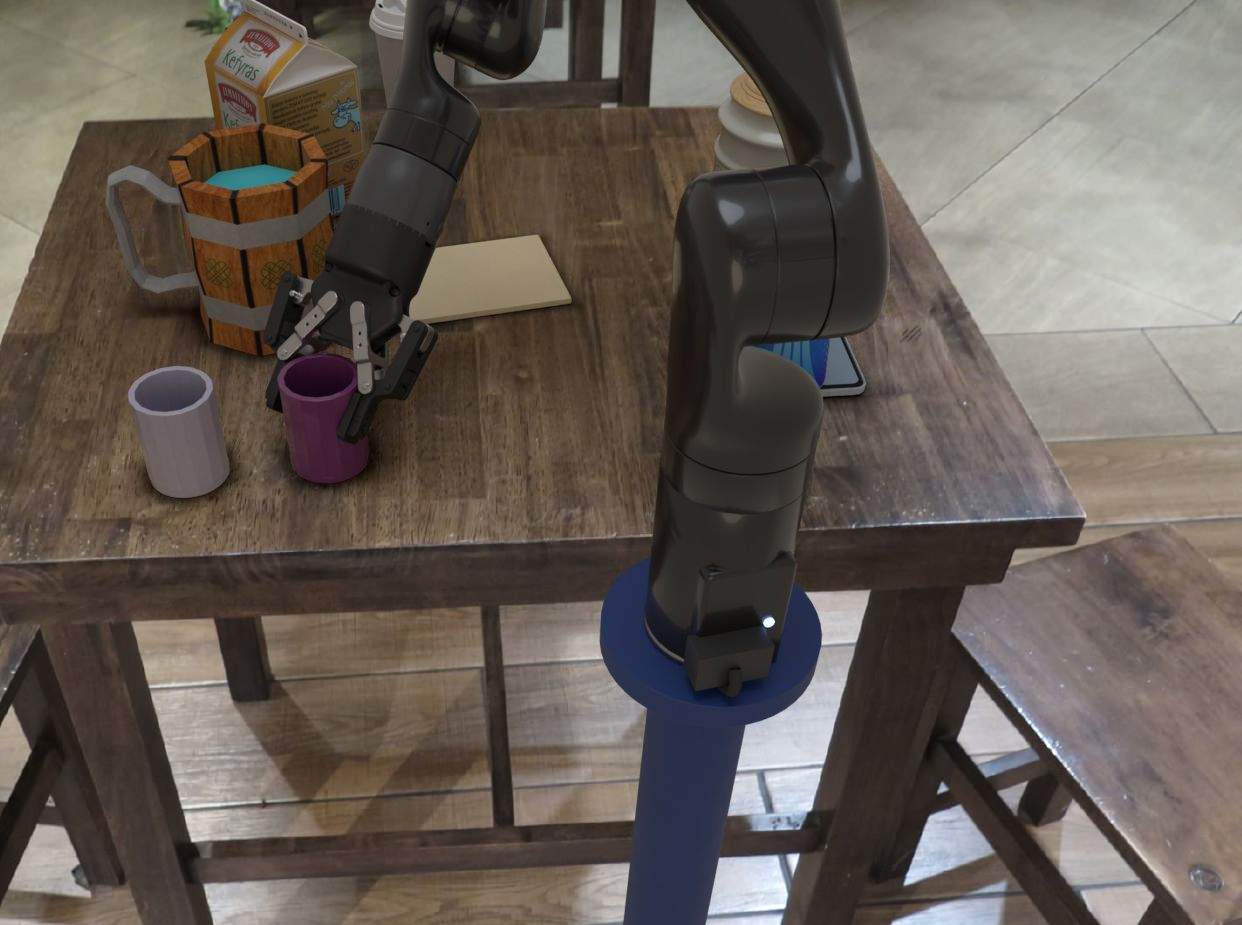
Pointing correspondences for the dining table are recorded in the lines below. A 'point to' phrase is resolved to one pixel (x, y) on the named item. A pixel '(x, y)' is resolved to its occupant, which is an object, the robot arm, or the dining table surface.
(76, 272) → the dining table surface
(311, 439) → the plum cup
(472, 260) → the placemat
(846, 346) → the smartphone
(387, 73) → the coffee cup
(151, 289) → the mug
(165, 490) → the grey cup
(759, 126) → the jar
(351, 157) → the milk carton
